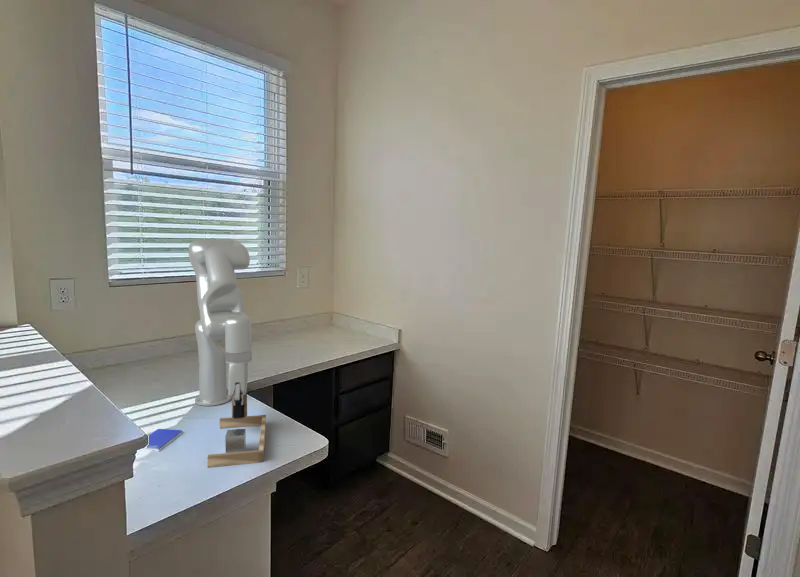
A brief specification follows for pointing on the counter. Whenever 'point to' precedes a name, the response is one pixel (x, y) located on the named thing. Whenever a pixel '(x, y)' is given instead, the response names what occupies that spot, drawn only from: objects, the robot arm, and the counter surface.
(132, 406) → the counter surface
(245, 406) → the cylinder
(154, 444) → the hard drive
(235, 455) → the corral
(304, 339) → the counter surface
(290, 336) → the counter surface
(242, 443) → the block
